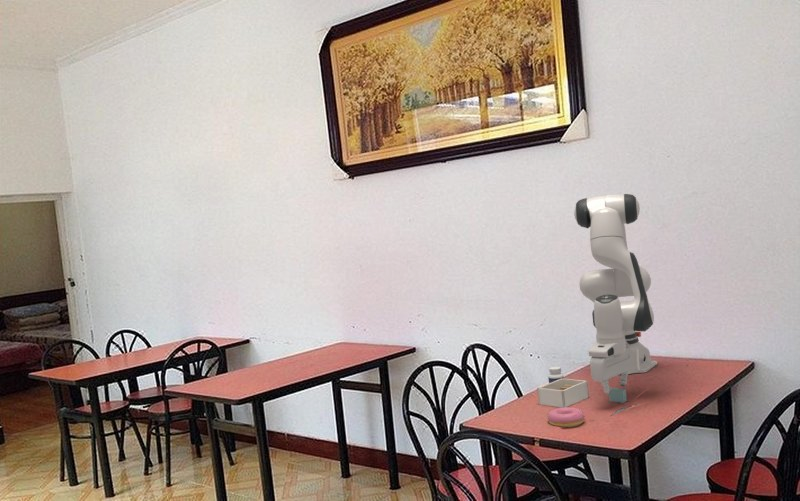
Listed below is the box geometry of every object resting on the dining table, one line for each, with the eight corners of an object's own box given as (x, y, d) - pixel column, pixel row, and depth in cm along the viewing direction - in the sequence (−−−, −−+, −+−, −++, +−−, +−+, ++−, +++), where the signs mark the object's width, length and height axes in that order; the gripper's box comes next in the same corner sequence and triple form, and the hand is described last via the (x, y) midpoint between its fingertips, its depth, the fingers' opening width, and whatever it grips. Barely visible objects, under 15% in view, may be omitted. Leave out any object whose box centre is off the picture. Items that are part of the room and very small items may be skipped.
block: (566, 396, 239) (565, 384, 239) (577, 397, 237) (576, 385, 237) (561, 399, 236) (559, 387, 236) (572, 400, 234) (571, 388, 234)
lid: (605, 401, 232) (604, 386, 232) (636, 405, 224) (635, 389, 224) (579, 413, 222) (578, 397, 222) (611, 417, 214) (609, 401, 214)
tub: (563, 395, 243) (562, 378, 243) (589, 398, 235) (587, 380, 235) (539, 406, 234) (537, 388, 233) (564, 409, 226) (562, 391, 226)
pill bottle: (565, 394, 244) (562, 369, 244) (550, 395, 245) (547, 370, 245) (565, 390, 249) (562, 365, 249) (549, 391, 250) (547, 366, 250)
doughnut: (562, 431, 205) (561, 417, 205) (540, 423, 215) (539, 410, 215) (593, 423, 209) (591, 409, 209) (570, 416, 219) (568, 402, 219)
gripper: (619, 339, 235) (623, 380, 236) (585, 352, 222) (589, 395, 222) (637, 340, 231) (641, 382, 231) (602, 353, 217) (607, 397, 217)
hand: (615, 389), depth 226 cm, fingers open, 8 cm apart
